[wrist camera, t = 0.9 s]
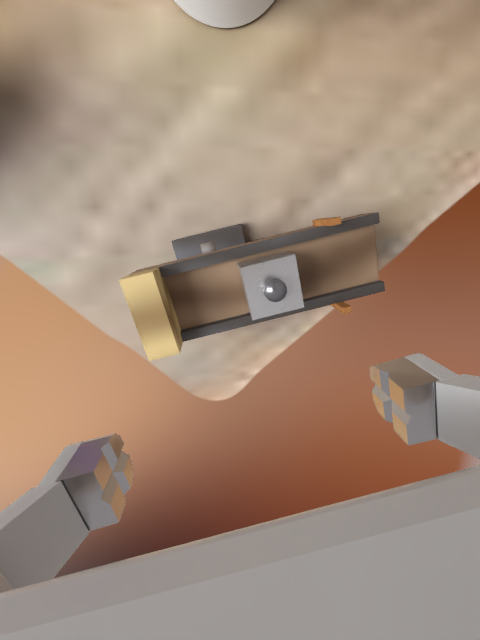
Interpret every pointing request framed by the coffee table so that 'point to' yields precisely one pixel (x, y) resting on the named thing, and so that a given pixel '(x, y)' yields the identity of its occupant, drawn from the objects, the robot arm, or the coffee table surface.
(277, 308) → the rider
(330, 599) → the robot arm
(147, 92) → the coffee table surface
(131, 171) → the coffee table surface
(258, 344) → the coffee table surface
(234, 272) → the grey gold rectangular frame
